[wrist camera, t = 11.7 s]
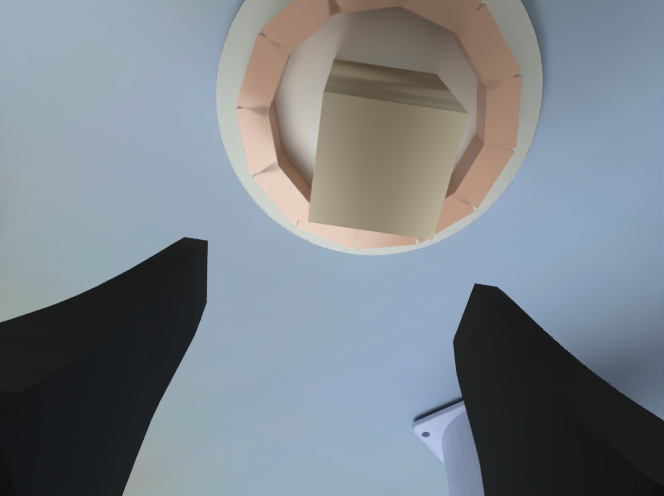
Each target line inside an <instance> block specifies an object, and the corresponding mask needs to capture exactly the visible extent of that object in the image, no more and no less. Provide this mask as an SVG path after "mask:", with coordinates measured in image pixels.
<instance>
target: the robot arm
mask: <svg viewBox="0 0 664 496" xmlns="http://www.w3.org/2000/svg"><path fill="white" fill-rule="evenodd" d="M207 253H208V241H206V240H200V239H193V238H187V237H184V238H182V239H180V240H179V241H177V242H175V243H173V244H172V245H170V246H168V247H167V248H165V249H163V250H162V251H160V252H159V253H157V254H155V255H154V256H152V257H150V258H148V259H147V260H145V261H143V262H142V263H140V264H138V265H136V266H135V267H133V268H131V269H129V270H127V271H126V272H124V273H122V274H120V275H118V276H116V277H114V278H112V279H110V280H108V281H106V282H104V283H102V284H101V285H99V286H97V287H94V288H92V289H90V290H88V291H86V292H83V293H81V294H79V295H77V296H74V297H72V298H69V299H67V300H64V301H62V302H59V303H57V304H54V305H52V306H49V307H46V308H43V309H40V310H37V311H34V312H31V313H28V314H25V315H22V316H19V317H16V318H13V319H10V320H7V321H4V322H0V496H122V495H123V492H124V489H125V486H126V484H127V481H128V479H129V476H130V473H131V471H132V468H133V465H134V463H135V460H136V457H137V455H138V452H139V450H140V447H141V445H142V442H143V440H144V437H145V435H146V432H147V430H148V427H149V425H150V422H151V420H152V417H153V415H154V413H155V411H156V409H157V407H158V404H159V402H160V400H161V399H162V397H163V395H164V393H165V391H166V389H167V387H168V385H169V383H170V381H171V380H172V378H173V376H174V374H175V372H176V370H177V368H178V366H179V364H180V363H181V361H182V359H183V357H184V355H185V353H186V351H187V349H188V347H189V345H190V343H191V341H192V339H193V337H194V335H195V333H196V331H197V328H198V325H199V323H200V320H201V317H202V314H203V311H204V309H205V306H206V303H207ZM453 345H454V356H455V364H456V372H457V377H458V381H459V385H460V389H461V393H462V397H463V401H461V402H459V403H457V404H454V405H452V406H450V407H447V408H445V409H443V410H440V411H438V412H436V413H433V414H431V415H429V416H426V417H424V418H422V419H419V420H417V421H416V422H414V424H413V430H414V432H415V433H416V434H417V435H418V436H419V437H420V438H421V439H422V441H423V442H424V443H425V444H426V445H427V446H428V447H429V448H430V449H431V450H432V451H433V452H434V453H435V454H436V455H437V456H438V457H439V458H440V459H441V460H442V461H443V462H444V464H445V469H446V475H447V481H448V486H449V492H450V496H664V420H662V419H660V418H659V417H657V416H656V415H654V414H653V413H651V412H649V411H648V410H646V409H645V408H643V407H642V406H640V405H638V404H637V403H635V402H634V401H632V400H631V399H629V398H628V397H626V396H625V395H624V394H622V393H621V392H619V391H618V390H617V389H615V388H614V387H612V386H611V385H610V384H608V383H607V382H606V381H604V380H603V379H602V378H600V377H599V376H597V375H596V374H595V373H594V372H592V371H591V370H590V369H588V368H587V367H586V366H585V365H583V364H582V363H581V362H580V361H579V360H578V359H576V358H575V357H574V356H573V355H572V354H570V353H569V352H568V351H567V350H566V349H564V348H563V347H562V346H561V345H560V344H559V343H558V342H557V341H555V340H554V339H553V338H552V337H551V336H550V335H549V334H548V333H547V332H546V331H544V330H543V329H542V328H541V327H540V326H539V325H538V324H537V323H536V322H535V321H534V320H533V319H532V318H531V317H530V316H529V315H528V314H527V313H525V312H524V311H523V310H522V309H521V308H520V307H519V306H518V305H517V304H516V303H515V302H514V301H513V300H512V299H511V298H510V297H509V296H507V295H506V294H505V293H504V292H503V291H502V290H500V289H499V288H498V287H494V286H488V285H482V284H476V283H475V284H474V287H473V290H472V292H471V295H470V298H469V300H468V303H467V305H466V308H465V311H464V313H463V316H462V319H461V321H460V324H459V327H458V329H457V332H456V335H455V337H454V340H453Z"/></svg>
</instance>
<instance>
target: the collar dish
mask: <svg viewBox="0 0 664 496" xmlns="http://www.w3.org/2000/svg"><path fill="white" fill-rule="evenodd" d="M334 59H340V60H347V61H353V62H360V63H366V64H373V65H379V66H386V67H392V68H399V69H406V70H412V71H419V72H425V73H432V74H437V75H438V76H439V77H440V79H441V80H442V81H443V82H444V84H445V85H446V86H447V87H448V89H449V90H450V91H451V92H452V94H453V95H454V96H455V97H456V98H457V100H458V101H459V102H460V103H461V105H462V106H463V107H464V108H465V110H466V111H467V112H468V113H469V115H468V118H467V122H466V125H465V129H464V132H463V136H462V139H461V143H460V146H459V150H458V153H457V157H456V160H455V164H454V167H453V171H452V175H451V178H450V182H449V185H448V189H447V192H446V196H445V199H444V203H443V206H442V210H441V213H440V217H439V220H438V224H437V227H436V231H435V234H434V238H433V240H429V239H422V238H415V237H408V236H401V235H394V234H387V233H381V232H374V231H367V230H360V229H353V228H346V227H339V226H332V225H325V224H318V223H311V222H308V215H309V206H310V198H311V190H312V182H313V173H314V165H315V157H316V149H317V140H318V132H319V124H320V116H321V107H322V99H323V91H324V88H325V85H326V82H327V79H328V76H329V73H330V70H331V67H332V63H333V60H334ZM542 89H543V73H542V63H541V54H540V50H539V46H538V42H537V38H536V33H535V30H534V28H533V25H532V23H531V21H530V18H529V16H528V13H527V11H526V9H525V7H524V5H523V4H522V2H521V0H245V1H244V3H243V4H242V5H241V7H240V9H239V11H238V13H237V15H236V17H235V19H234V21H233V23H232V25H231V27H230V29H229V32H228V35H227V38H226V41H225V43H224V46H223V49H222V54H221V58H220V63H219V68H218V75H217V88H216V101H217V116H218V122H219V127H220V133H221V137H222V140H223V143H224V147H225V150H226V153H227V156H228V158H229V160H230V162H231V164H232V167H233V169H234V171H235V173H236V175H237V176H238V178H239V179H240V181H241V183H242V184H243V186H244V188H245V189H246V190H247V192H248V193H249V194H250V195H251V197H252V198H253V199H254V201H255V202H256V203H257V204H258V205H259V206H260V207H261V208H262V209H263V210H264V211H265V212H266V213H267V214H268V215H269V216H270V217H271V218H273V219H274V220H275V221H276V222H278V223H279V224H280V225H282V226H283V227H284V228H286V229H287V230H289V231H291V232H292V233H294V234H296V235H297V236H299V237H301V238H303V239H305V240H307V241H309V242H312V243H314V244H316V245H319V246H322V247H325V248H328V249H331V250H335V251H340V252H345V253H350V254H361V255H388V254H395V253H403V252H407V251H411V250H415V249H419V248H423V247H425V246H428V245H431V244H433V243H436V242H439V241H441V240H443V239H445V238H447V237H449V236H451V235H453V234H455V233H457V232H458V231H460V230H461V229H463V228H464V227H466V226H467V225H469V224H470V223H472V222H473V221H474V220H475V219H477V218H478V217H479V216H480V215H482V214H483V213H484V212H485V211H486V210H487V209H488V208H489V207H490V206H491V205H492V204H493V203H494V202H495V201H496V200H497V199H498V198H499V197H500V196H501V195H502V193H503V192H504V191H505V190H506V188H507V187H508V186H509V184H510V183H511V182H512V180H513V179H514V177H515V176H516V174H517V172H518V170H519V169H520V167H521V165H522V164H523V162H524V160H525V158H526V155H527V153H528V151H529V149H530V146H531V144H532V141H533V138H534V135H535V131H536V128H537V125H538V121H539V115H540V110H541V104H542Z"/></svg>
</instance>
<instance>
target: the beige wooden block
mask: <svg viewBox="0 0 664 496" xmlns="http://www.w3.org/2000/svg"><path fill="white" fill-rule="evenodd" d="M468 115H469V113H468V112H467V111H466V110H465V108H464V107H463V106H462V105H461V103H460V102H459V101H458V100H457V98H456V97H455V96H454V95H453V94H452V92H451V91H450V90H449V89H448V87H447V86H446V85H445V84H444V82H443V81H442V80H441V79H440V77H439V76H438V75H437V74H432V73H425V72H419V71H412V70H406V69H399V68H392V67H386V66H379V65H373V64H366V63H360V62H353V61H347V60H340V59H334V60H333V63H332V67H331V70H330V73H329V76H328V79H327V82H326V85H325V88H324V91H323V99H322V107H321V116H320V124H319V132H318V140H317V149H316V157H315V165H314V173H313V182H312V190H311V198H310V206H309V215H308V222H311V223H318V224H325V225H332V226H339V227H346V228H353V229H360V230H367V231H374V232H381V233H387V234H394V235H401V236H408V237H415V238H422V239H429V240H433V238H434V234H435V231H436V227H437V224H438V220H439V217H440V213H441V210H442V206H443V203H444V199H445V196H446V192H447V189H448V185H449V182H450V178H451V175H452V171H453V167H454V164H455V160H456V157H457V153H458V150H459V146H460V143H461V139H462V136H463V132H464V129H465V125H466V122H467V118H468Z"/></svg>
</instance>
